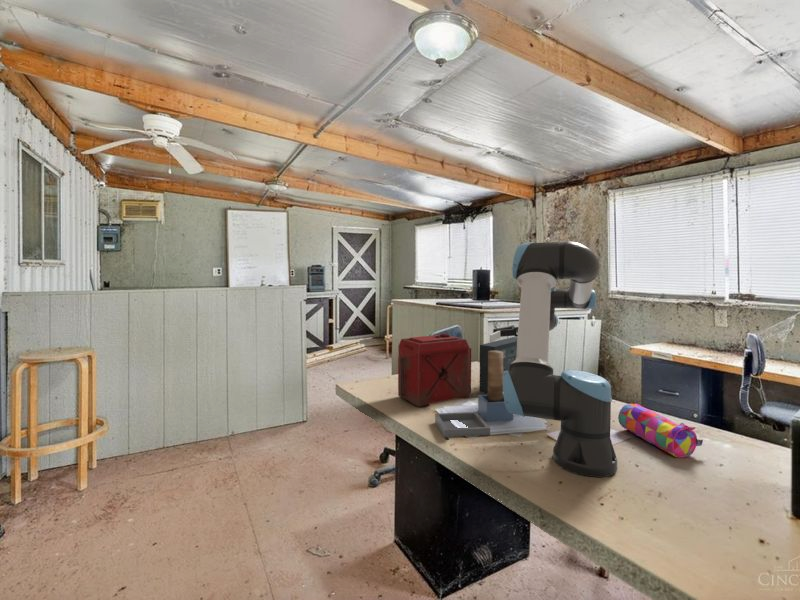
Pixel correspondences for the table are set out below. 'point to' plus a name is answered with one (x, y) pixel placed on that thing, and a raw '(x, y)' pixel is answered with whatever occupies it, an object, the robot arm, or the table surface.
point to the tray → (468, 418)
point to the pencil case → (659, 430)
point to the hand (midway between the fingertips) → (507, 341)
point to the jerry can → (434, 369)
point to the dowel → (495, 376)
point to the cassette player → (509, 356)
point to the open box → (493, 409)
